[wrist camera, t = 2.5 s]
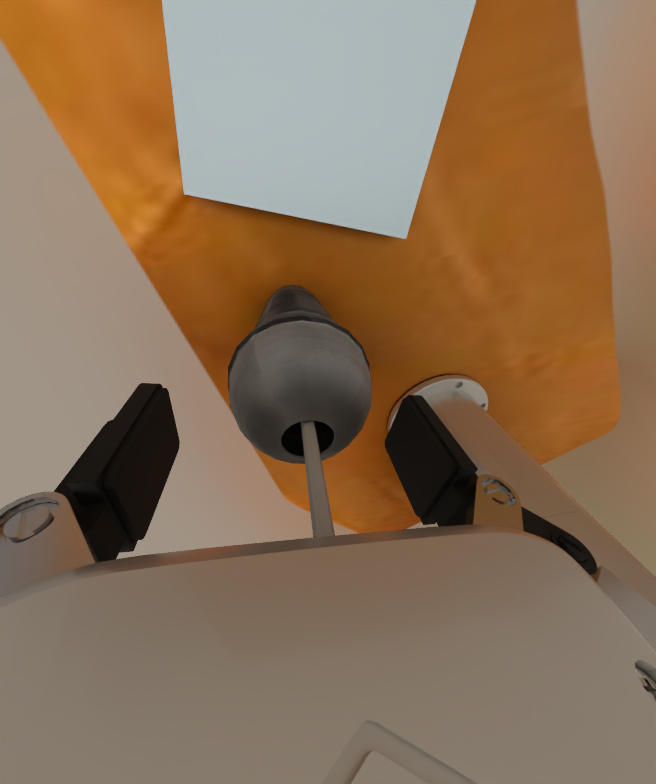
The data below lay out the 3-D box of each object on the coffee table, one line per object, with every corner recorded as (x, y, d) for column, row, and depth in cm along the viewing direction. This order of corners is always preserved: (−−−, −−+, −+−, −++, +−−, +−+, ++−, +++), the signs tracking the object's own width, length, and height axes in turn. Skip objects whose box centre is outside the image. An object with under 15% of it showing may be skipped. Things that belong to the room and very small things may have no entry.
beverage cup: (254, 350, 24) (202, 638, 8) (244, 265, 20) (90, 508, 4) (331, 349, 25) (420, 600, 9) (337, 268, 21) (522, 467, 5)
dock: (390, 235, 20) (405, 239, 18) (197, 196, 17) (183, 194, 15) (479, -99, 12) (527, -174, 10) (154, -282, 9) (109, -454, 7)
